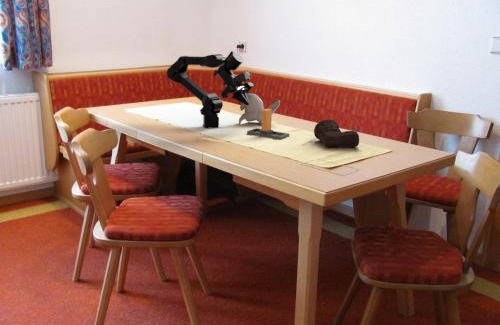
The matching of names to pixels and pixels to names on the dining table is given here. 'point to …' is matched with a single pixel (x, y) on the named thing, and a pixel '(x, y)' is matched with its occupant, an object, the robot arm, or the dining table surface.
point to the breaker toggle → (266, 121)
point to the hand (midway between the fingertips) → (248, 104)
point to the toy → (256, 108)
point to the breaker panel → (254, 132)
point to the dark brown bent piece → (335, 135)
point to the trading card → (332, 172)
